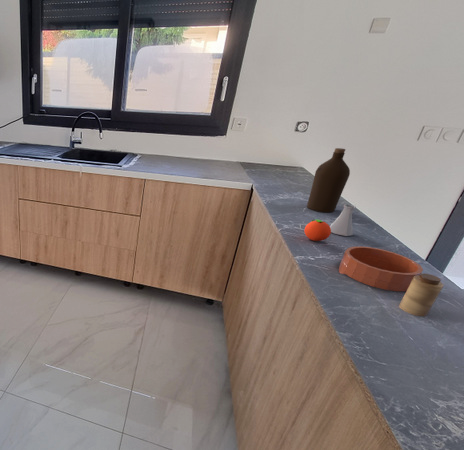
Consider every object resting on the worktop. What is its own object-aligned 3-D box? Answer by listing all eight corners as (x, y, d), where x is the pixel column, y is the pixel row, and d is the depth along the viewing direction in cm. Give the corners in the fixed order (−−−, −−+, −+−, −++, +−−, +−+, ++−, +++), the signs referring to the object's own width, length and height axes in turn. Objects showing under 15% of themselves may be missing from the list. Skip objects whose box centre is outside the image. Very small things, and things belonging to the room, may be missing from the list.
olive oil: (325, 214, 125) (346, 152, 115) (298, 206, 134) (316, 147, 124) (342, 211, 128) (365, 149, 118) (315, 203, 137) (334, 145, 127)
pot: (390, 268, 88) (399, 250, 86) (427, 299, 75) (438, 278, 73) (329, 261, 92) (335, 243, 90) (354, 289, 79) (362, 269, 77)
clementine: (296, 233, 110) (301, 215, 107) (317, 234, 108) (324, 216, 106) (308, 244, 102) (315, 224, 99) (332, 245, 101) (339, 225, 98)
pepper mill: (416, 309, 72) (436, 273, 68) (429, 322, 68) (451, 284, 64) (392, 306, 73) (410, 270, 69) (404, 318, 69) (424, 281, 65)
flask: (357, 233, 109) (367, 206, 105) (347, 238, 106) (358, 211, 102) (332, 226, 115) (341, 200, 111) (323, 230, 111) (332, 204, 107)
